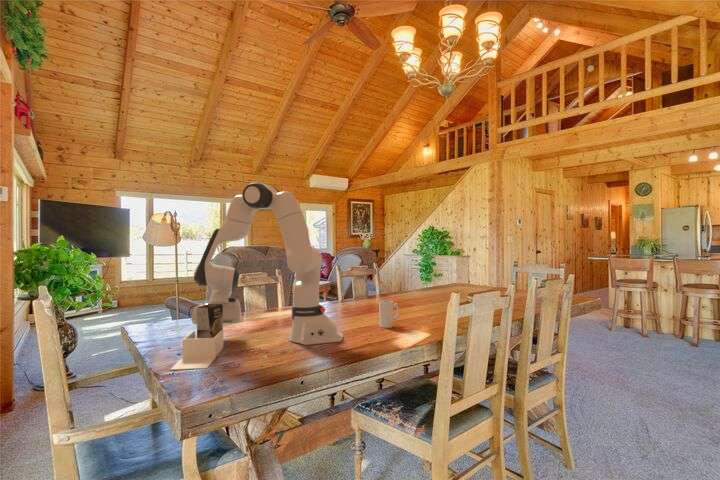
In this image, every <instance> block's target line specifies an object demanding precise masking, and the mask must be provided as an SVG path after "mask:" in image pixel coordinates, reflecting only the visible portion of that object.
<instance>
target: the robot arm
mask: <svg viewBox="0 0 720 480" xmlns="http://www.w3.org/2000/svg"><path fill="white" fill-rule="evenodd" d="M258 211H272V212H273V213H274V215H275V218H276V222H277V224H278V227H279V229H280V233H281V235H282V240H283V242H284V249H285V254H286V265H287V267H288V270H290V271H291V272H292V273H295V276H294V281H293V285H292V306H291V319H292V323H291V332H290V336H289V341H290V342H292V343H297V344H301V345H304V346H306V345H307V346H309V345H316V344H319V345H320V344H327V343H328V344H329V343H339V342H342V340H343V338H344V335H343V333H342V332H340V331H339V330H338V326H337V323H336V322H335V320H333V319H332V318H330V316H328V315H327V314H325V313H326V308H325V307H324V306H323V305H321V304H320V281H321V271H322V262H323V255H322V253H321V251H319V249H318V248H316V247H314V246H312V244H311V241H310V234H309V227H308V225H307V223H306V219H305V217H304V214H303V211H302V208H301V206H300V204H299V202H298V200H297V198H296V197H295V195H294V194H293V193H292V191H291V192H290V191H286V190H284V191H280V190H278V189H277V188H276V187H274V186H272V185H269V184H267V183H261V182H252V183H248V184H247V185H246V186H245V187H244V188H243V191H242V194H237V195H235V196H234V197H233V198H232V200H231V202H230V204H229V207H228V209H227V212H226V217H225V220H224V221H223V223H222V224H221V226H219V227H216V228H215V229H214V231H213V232H212V235H211V237H210V239H209V241H208V243H207V245H206V247H205V249H204V252H203V254H202V256H201V259H200V261H199V263H198V264H197V266H196V267H195V270H194V271H193V280H194V282H195V283H196V285H198V286H203V287H212V288H211V294H210V297H209V301H208V303H203V304H202V303H200V304H197V305H195V306H194V308H193V312H192V313H191V317H190V321H191V323H192V324H193V325H197V308H198V307H201V306H205V305H208V304H223V324H240V323H241V321H242V309H241V304H240V300H239V298H236V297H232V293H233V292H235V290H237V288H238V286H239V279H240V272H239V271H238V270H237V268H235V267H231V266H226V265H219V264H215V263H212V262H211V261H212V259H213V258H214V255H215V252H216V250H217V248H218V247H219V246H220V245H221V244H224V243H228V242H234V241H235V242H237V241H239V240H242V239H244V238H246V237H247V236H248V235H249V234H250V230H251V229H252V228H251V227H252V225H253V222H254V221H253V220H254V217H255V213H256V212H258Z"/></svg>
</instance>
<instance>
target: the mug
mask: <svg viewBox="0 0 720 480" xmlns="http://www.w3.org/2000/svg"><path fill="white" fill-rule="evenodd" d="M394 308H396V310H397V311H396V313H395V314H396V315H394ZM378 310H379V312H378V314H379V315H378V316H379V317H378V318H379V319H378V320H379V327H380V328H382V329H383V328H384V329H391V328H394V327H393V326H394V321H397V320H398V318H399V316H400V307H399V306H398V303H397V302H395V303H394V301H393V300H389V299H388V300H387V299H386V300H379V301H378Z"/></svg>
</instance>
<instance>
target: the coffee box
mask: <svg viewBox="0 0 720 480" xmlns="http://www.w3.org/2000/svg"><path fill="white" fill-rule="evenodd" d="M207 304H208V305H205V306H201V307H198V308H197V324H196V338H214V337H215V336H216V335H217V334H218V333H219V332H220V331H221V330H223V331H224V323H223V304H209V303H207Z"/></svg>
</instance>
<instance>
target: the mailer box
mask: <svg viewBox="0 0 720 480" xmlns="http://www.w3.org/2000/svg"><path fill="white" fill-rule="evenodd" d="M223 349H224V329H223V330H221V331H220V332H219V333H218V334H217V335H216V336H215V337H214V338H197V337H196V330H192V331H191V332H190V333H188V334H187V335H186V336H185V337H184V338H183V339H182V358H181V359H179V360H178V361H177V362H176V363H175V364H174V365H173V366H172V367H171V368H170V369H169V371H185V370H187V371H188V370H202V369H203V370H204V369H205V370H206V369H208V368H209V367H210V366H211V365H212V363H213V362H214V361H215V360H216V358H217V356H218V355H219V354H220V352H221V351H222V350H223Z"/></svg>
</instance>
